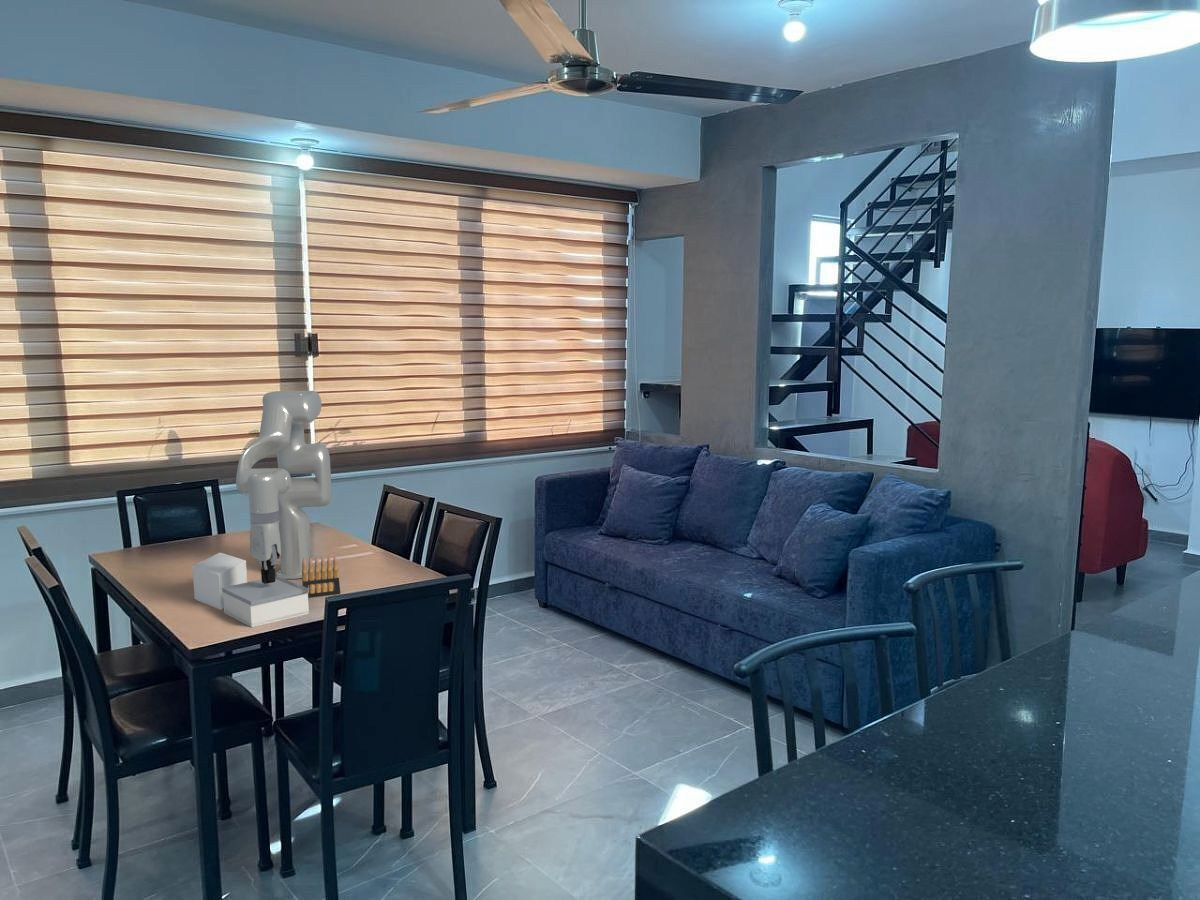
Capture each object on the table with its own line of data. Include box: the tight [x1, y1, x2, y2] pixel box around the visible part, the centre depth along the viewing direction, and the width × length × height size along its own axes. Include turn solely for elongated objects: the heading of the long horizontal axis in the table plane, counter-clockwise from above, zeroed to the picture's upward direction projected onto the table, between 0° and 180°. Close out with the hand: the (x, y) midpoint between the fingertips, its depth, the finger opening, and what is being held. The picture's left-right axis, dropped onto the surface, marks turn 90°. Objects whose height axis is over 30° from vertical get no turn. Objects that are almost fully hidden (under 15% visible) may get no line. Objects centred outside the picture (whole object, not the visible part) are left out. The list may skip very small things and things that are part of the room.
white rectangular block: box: [191, 552, 248, 611], centre depth 256 cm, size 14×29×10 cm, turn 23°
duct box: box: [223, 592, 310, 628], centre depth 240 cm, size 18×17×6 cm
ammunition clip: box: [301, 554, 341, 599], centre depth 256 cm, size 11×2×12 cm, turn 114°
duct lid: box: [222, 575, 309, 605], centre depth 239 cm, size 19×16×1 cm
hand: (268, 582), depth 240 cm, fingers closed
